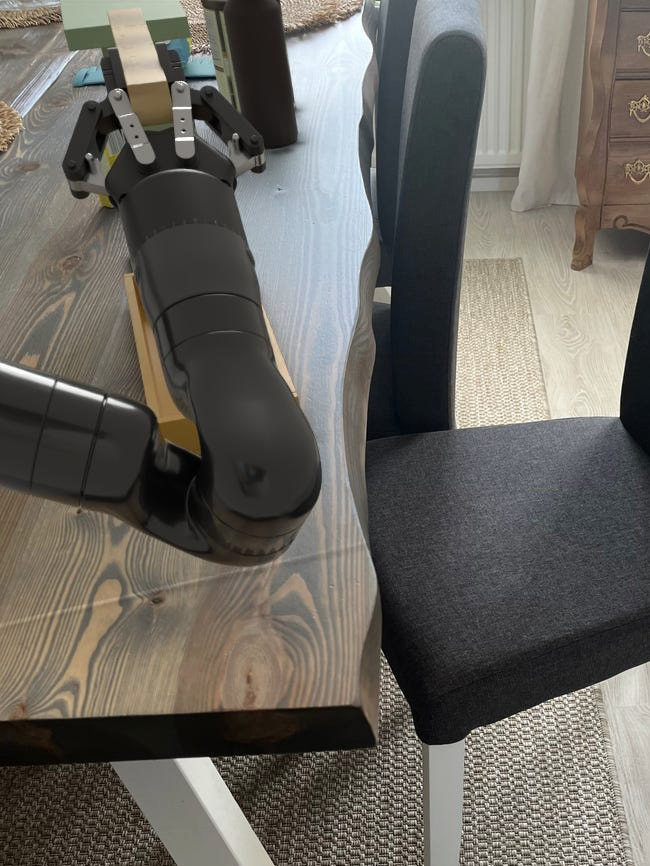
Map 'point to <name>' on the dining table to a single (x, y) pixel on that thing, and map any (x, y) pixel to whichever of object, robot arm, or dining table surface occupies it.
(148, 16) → the stand
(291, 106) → the bottle
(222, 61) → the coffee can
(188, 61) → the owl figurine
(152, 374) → the tray
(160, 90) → the birch bar
